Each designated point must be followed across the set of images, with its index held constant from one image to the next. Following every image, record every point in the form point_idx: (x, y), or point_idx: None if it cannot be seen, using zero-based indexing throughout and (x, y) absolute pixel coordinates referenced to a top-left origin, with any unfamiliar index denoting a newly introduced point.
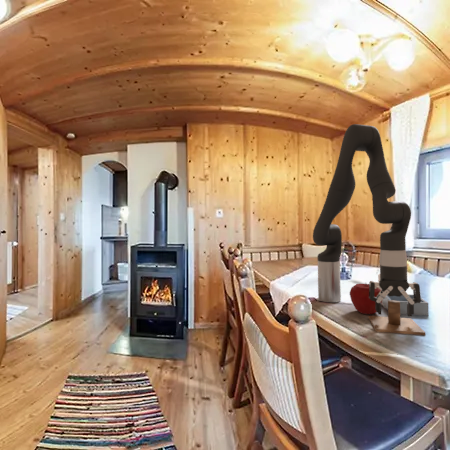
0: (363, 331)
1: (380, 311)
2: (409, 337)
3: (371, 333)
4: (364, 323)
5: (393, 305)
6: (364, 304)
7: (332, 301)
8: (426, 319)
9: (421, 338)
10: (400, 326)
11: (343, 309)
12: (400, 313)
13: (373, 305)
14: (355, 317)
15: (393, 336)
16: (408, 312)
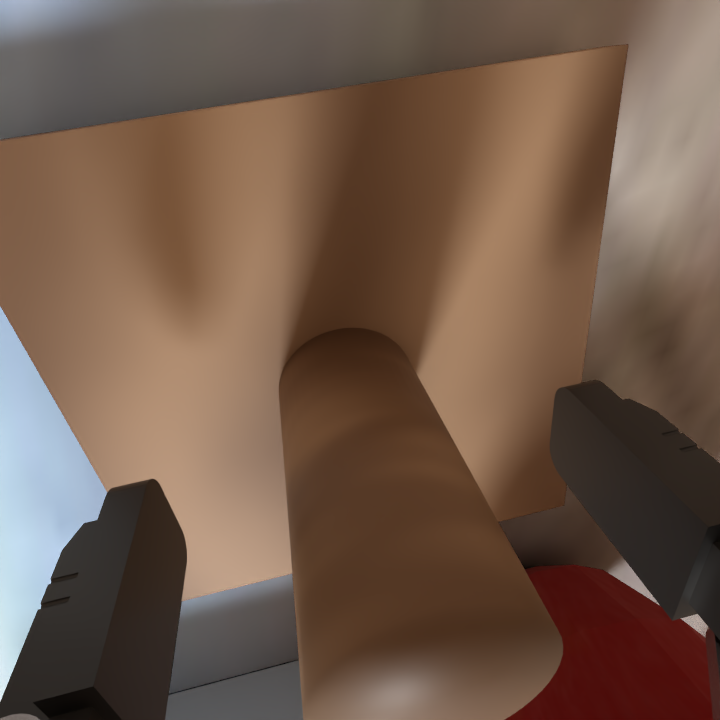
0: (711, 83)
1: (603, 405)
2: (171, 49)
3: (641, 33)
4: (606, 369)
5: (450, 542)
6: (645, 629)
7: None
8: None
9: (3, 69)
10: (283, 305)
11: (658, 604)
12: (266, 687)
13: None
14: None
15: (384, 6)
16: (156, 544)
